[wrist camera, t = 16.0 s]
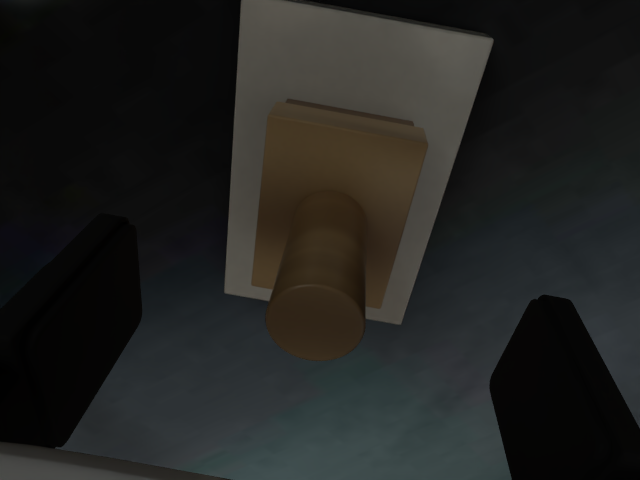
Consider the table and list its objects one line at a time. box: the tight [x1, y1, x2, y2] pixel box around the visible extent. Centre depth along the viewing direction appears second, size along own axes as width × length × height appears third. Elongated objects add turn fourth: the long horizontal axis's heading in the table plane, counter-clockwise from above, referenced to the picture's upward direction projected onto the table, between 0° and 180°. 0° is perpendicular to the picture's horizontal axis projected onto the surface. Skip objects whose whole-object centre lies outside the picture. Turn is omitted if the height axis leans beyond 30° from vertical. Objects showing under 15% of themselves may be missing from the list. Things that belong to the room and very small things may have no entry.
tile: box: [224, 0, 494, 325], centre depth 18 cm, size 12×8×1 cm, turn 171°
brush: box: [251, 99, 428, 361], centre depth 14 cm, size 6×5×8 cm
